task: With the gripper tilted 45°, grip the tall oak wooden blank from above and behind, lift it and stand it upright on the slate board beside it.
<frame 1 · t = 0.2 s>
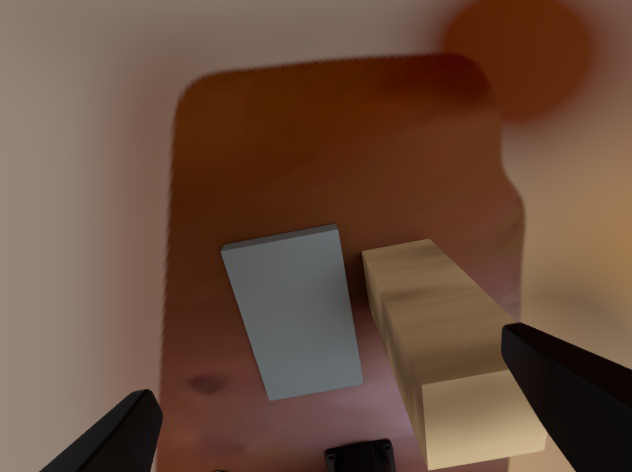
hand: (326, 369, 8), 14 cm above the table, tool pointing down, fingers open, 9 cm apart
slate board: (299, 315, 24), on the table
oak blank: (398, 274, 23), on the table
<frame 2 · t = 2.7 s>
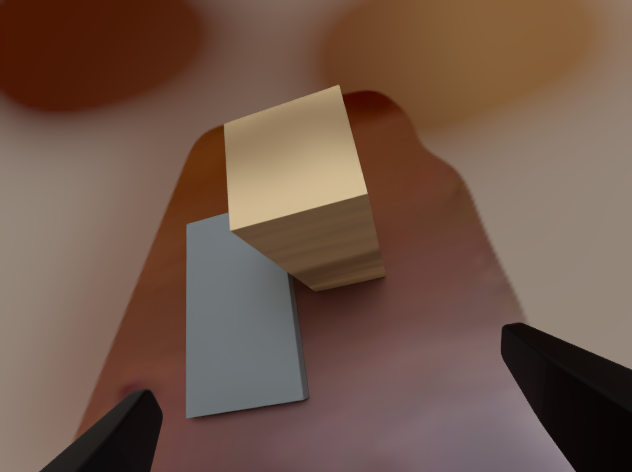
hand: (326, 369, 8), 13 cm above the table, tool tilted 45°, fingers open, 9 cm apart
slate board: (243, 300, 23), on the table
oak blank: (343, 250, 22), on the table
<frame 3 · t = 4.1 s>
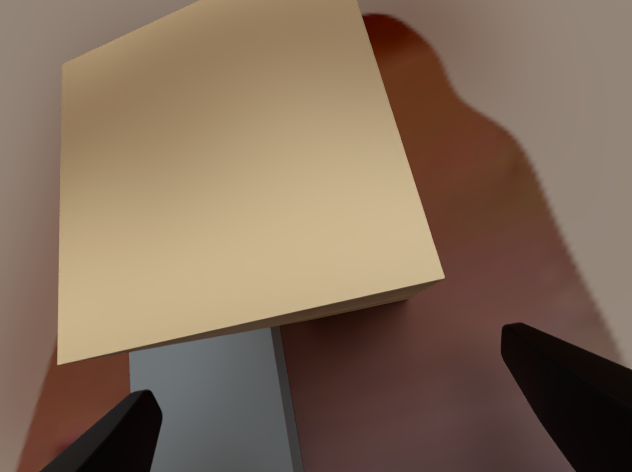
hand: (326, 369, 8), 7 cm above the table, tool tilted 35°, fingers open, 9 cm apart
slate board: (209, 332, 17), on the table
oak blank: (344, 260, 16), on the table
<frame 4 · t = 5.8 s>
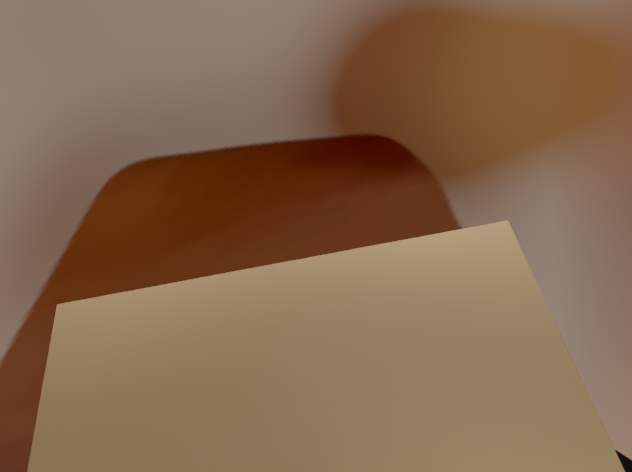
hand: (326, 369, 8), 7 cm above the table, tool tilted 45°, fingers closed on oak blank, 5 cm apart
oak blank: (342, 404, 13), on the table, touching gripper
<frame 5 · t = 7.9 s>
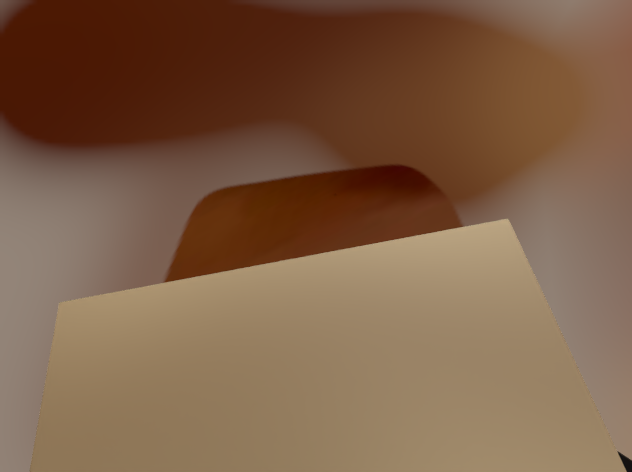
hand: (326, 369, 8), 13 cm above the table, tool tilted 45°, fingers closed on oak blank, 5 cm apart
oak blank: (342, 404, 13), point 6 cm above the table, touching gripper
when the fingers open (9 cm above the table, at t = 10.0 s): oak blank drops 1 cm, resting on slate board.
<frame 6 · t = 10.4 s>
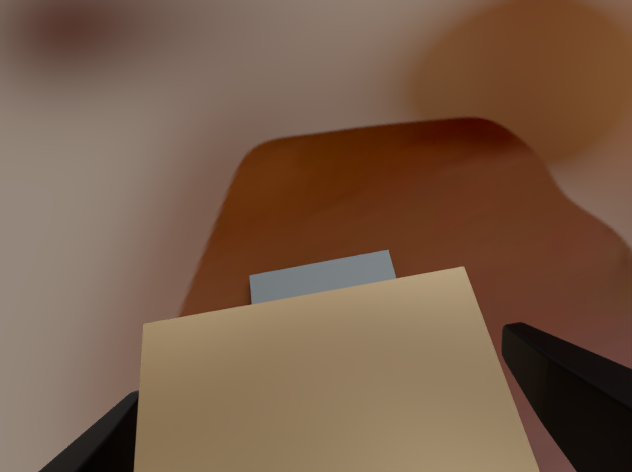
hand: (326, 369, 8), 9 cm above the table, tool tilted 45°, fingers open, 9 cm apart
slate board: (342, 398, 16), on the table
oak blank: (343, 401, 15), point 1 cm above the table, touching slate board
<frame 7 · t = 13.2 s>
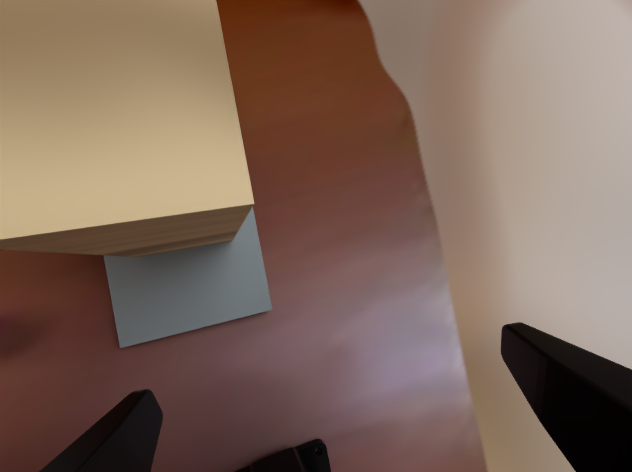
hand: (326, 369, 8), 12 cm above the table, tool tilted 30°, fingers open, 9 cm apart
slate board: (181, 207, 18), on the table
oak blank: (179, 204, 17), point 1 cm above the table, touching slate board
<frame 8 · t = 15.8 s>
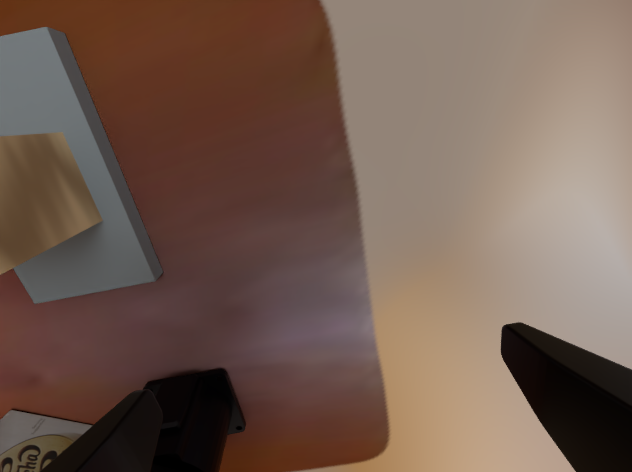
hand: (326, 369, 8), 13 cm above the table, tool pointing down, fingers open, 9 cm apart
coffee box: (70, 442, 26), on the table
slate board: (55, 182, 18), on the table
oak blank: (40, 186, 17), point 1 cm above the table, touching slate board
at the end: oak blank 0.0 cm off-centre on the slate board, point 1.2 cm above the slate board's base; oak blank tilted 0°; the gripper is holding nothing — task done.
